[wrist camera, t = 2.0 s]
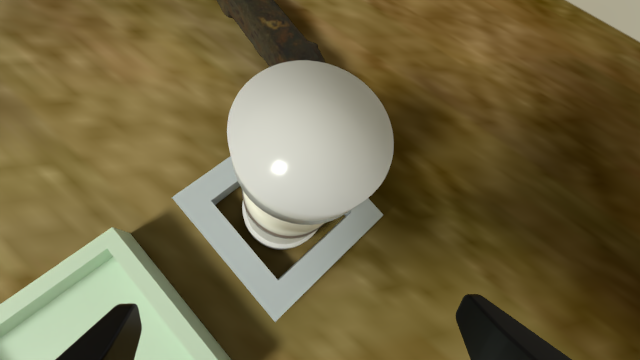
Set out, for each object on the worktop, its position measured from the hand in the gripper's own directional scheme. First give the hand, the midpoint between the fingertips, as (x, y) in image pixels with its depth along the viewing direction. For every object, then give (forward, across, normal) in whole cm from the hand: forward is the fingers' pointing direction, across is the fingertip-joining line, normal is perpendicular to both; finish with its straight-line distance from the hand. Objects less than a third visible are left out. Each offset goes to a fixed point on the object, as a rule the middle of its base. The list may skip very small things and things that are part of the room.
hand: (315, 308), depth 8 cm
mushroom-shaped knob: (+12, 0, +5) cm, 13 cm away
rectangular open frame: (+12, 0, +5) cm, 13 cm away
